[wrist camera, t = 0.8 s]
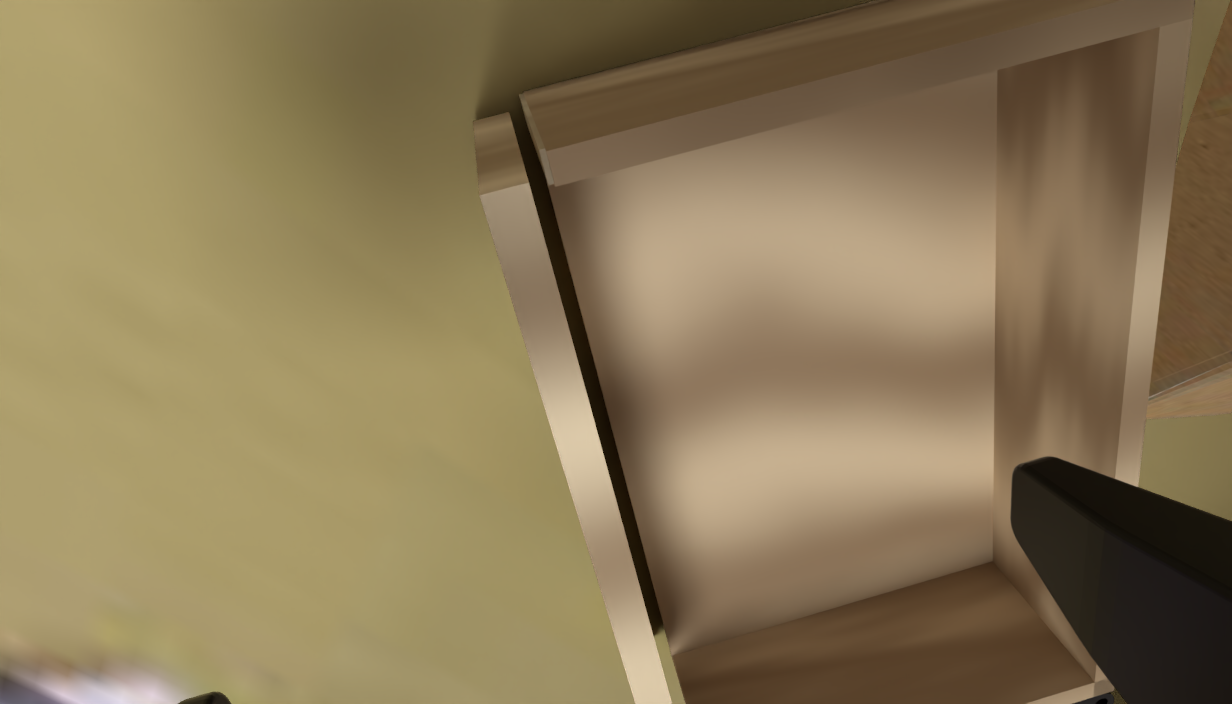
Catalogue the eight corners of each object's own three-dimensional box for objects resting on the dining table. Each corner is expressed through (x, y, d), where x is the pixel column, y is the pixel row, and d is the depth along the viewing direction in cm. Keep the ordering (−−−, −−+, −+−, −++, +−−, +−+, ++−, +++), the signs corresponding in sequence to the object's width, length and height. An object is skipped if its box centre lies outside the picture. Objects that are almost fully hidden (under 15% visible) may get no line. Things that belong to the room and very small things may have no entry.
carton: (999, 557, 27) (1113, 690, 22) (668, 655, 27) (714, 812, 22) (1008, -34, 19) (1197, -19, 14) (518, 92, 18) (540, 152, 13)
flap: (655, 643, 26) (701, 810, 21) (627, 651, 26) (667, 820, 21) (509, 111, 18) (528, 182, 13) (468, 122, 18) (472, 196, 13)
